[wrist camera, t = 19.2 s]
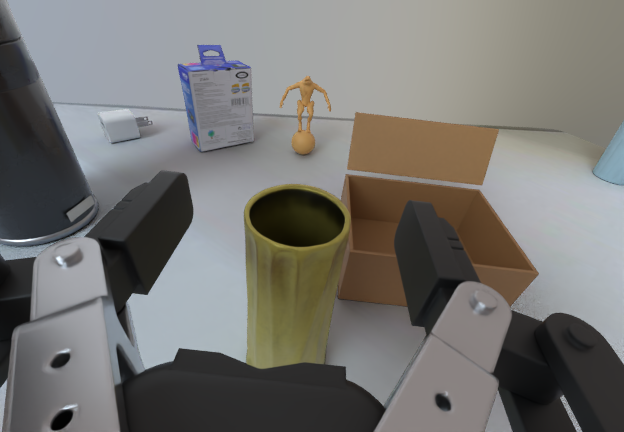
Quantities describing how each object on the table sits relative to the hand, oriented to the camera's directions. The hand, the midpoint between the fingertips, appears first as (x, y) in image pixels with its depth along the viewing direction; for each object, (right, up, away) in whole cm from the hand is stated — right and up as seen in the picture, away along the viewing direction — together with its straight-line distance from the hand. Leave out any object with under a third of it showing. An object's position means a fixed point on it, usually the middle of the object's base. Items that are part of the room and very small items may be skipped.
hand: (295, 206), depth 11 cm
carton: (+11, -5, +22) cm, 25 cm away
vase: (-1, -11, +12) cm, 17 cm away
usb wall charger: (-30, +13, +39) cm, 51 cm away
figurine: (-1, +11, +41) cm, 42 cm away
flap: (+13, +7, +21) cm, 26 cm away
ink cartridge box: (-15, +13, +41) cm, 45 cm away
